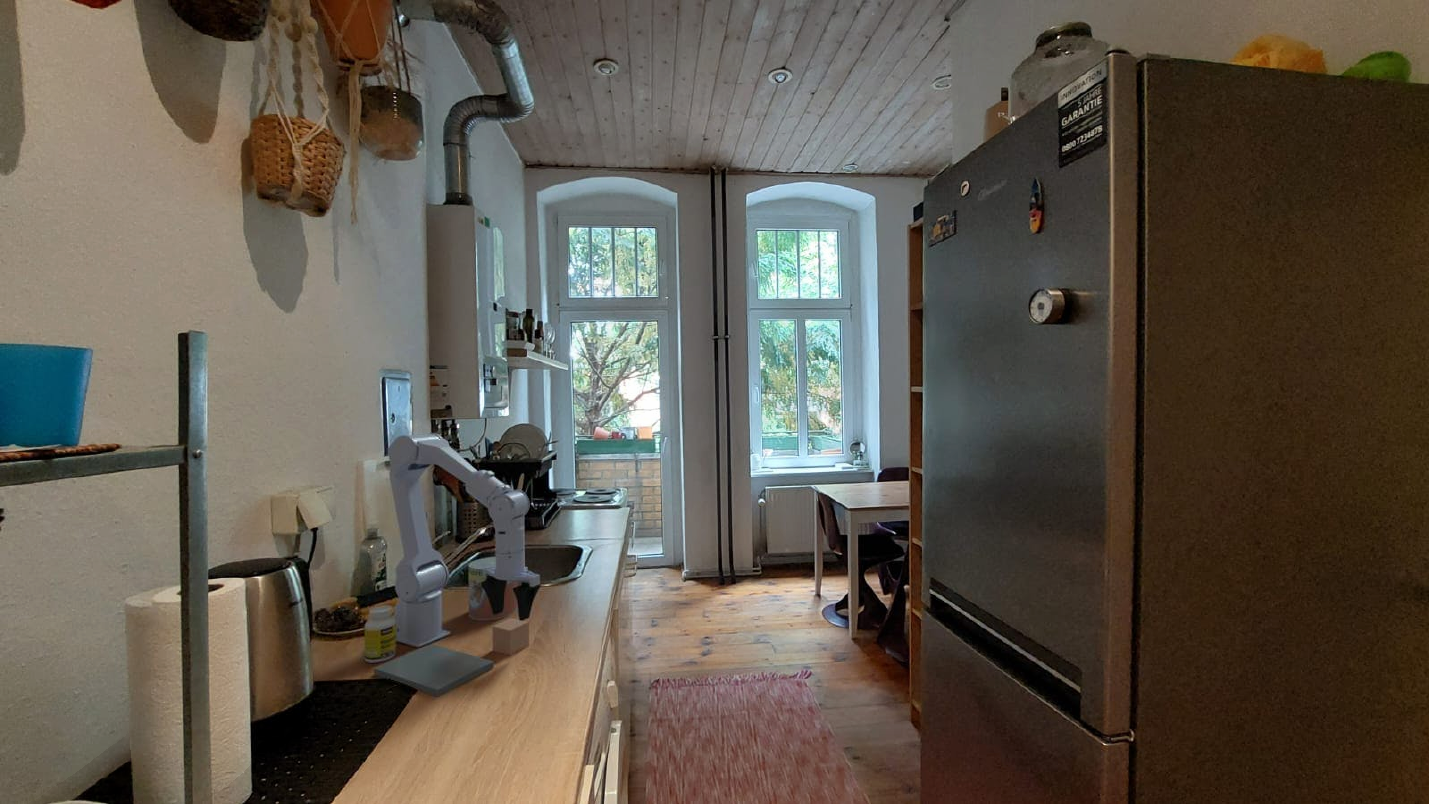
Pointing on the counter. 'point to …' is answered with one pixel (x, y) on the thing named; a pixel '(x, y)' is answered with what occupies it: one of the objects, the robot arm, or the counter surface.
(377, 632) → the supplement bottle
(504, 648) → the terracotta cube
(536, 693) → the counter surface
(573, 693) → the counter surface
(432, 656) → the slate board
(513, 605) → the canned food
